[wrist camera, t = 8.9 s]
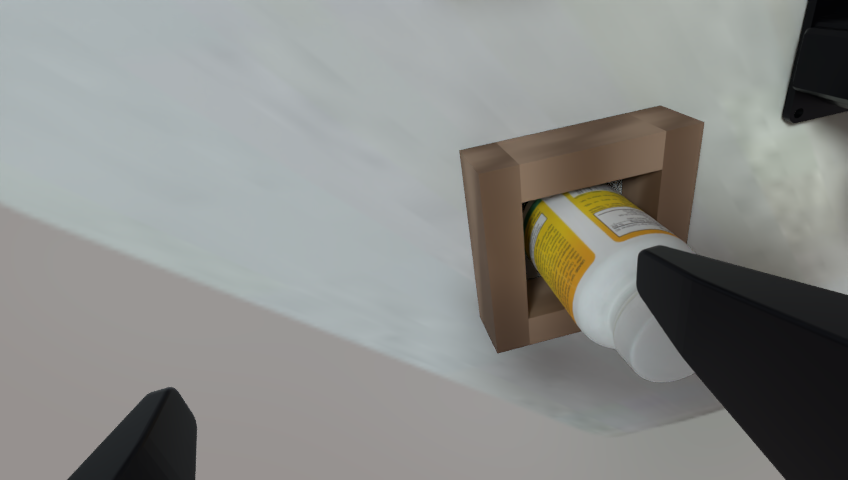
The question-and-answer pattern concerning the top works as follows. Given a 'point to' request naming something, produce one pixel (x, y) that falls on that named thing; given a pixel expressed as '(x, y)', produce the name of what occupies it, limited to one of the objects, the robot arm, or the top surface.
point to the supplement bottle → (603, 272)
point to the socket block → (558, 173)
